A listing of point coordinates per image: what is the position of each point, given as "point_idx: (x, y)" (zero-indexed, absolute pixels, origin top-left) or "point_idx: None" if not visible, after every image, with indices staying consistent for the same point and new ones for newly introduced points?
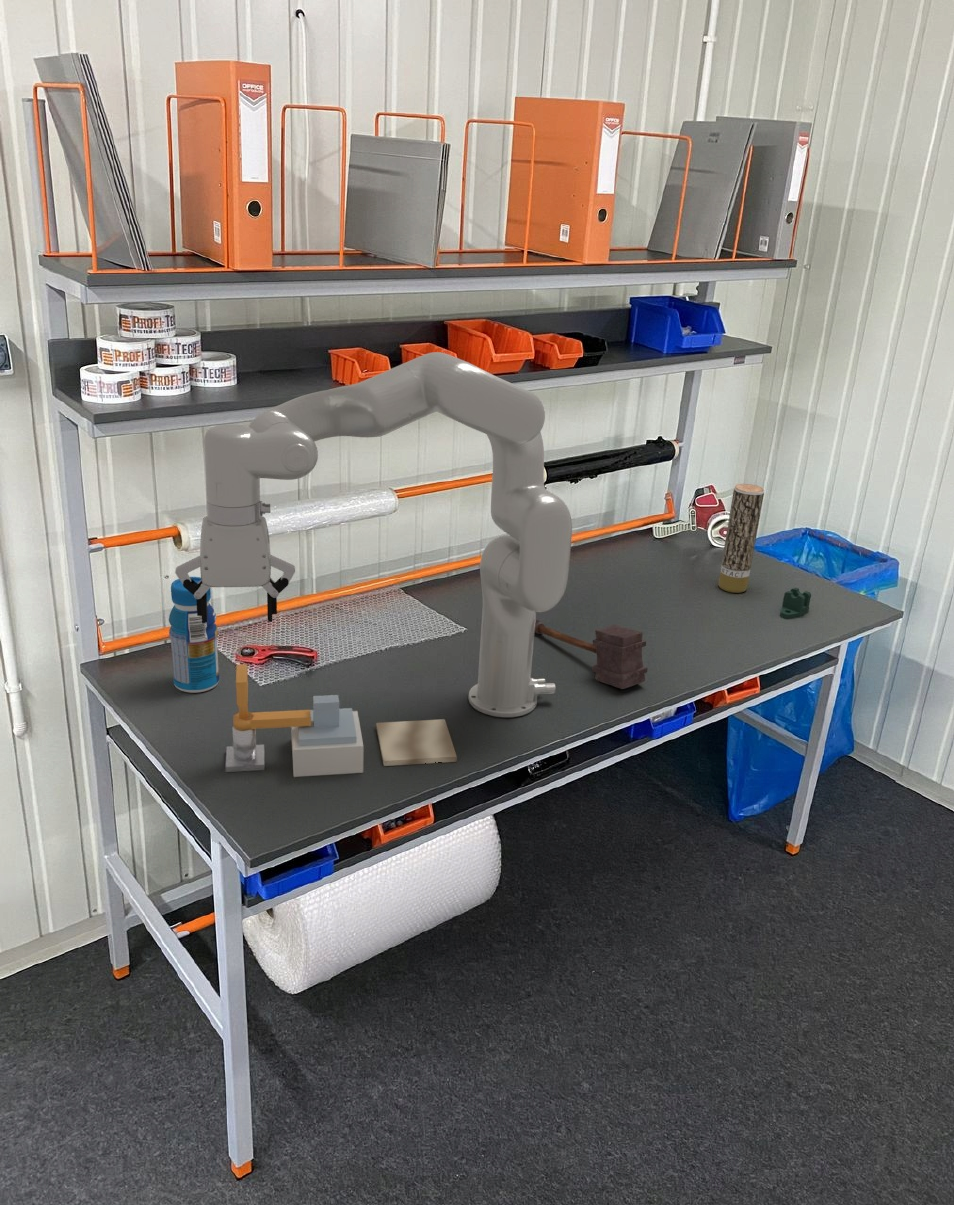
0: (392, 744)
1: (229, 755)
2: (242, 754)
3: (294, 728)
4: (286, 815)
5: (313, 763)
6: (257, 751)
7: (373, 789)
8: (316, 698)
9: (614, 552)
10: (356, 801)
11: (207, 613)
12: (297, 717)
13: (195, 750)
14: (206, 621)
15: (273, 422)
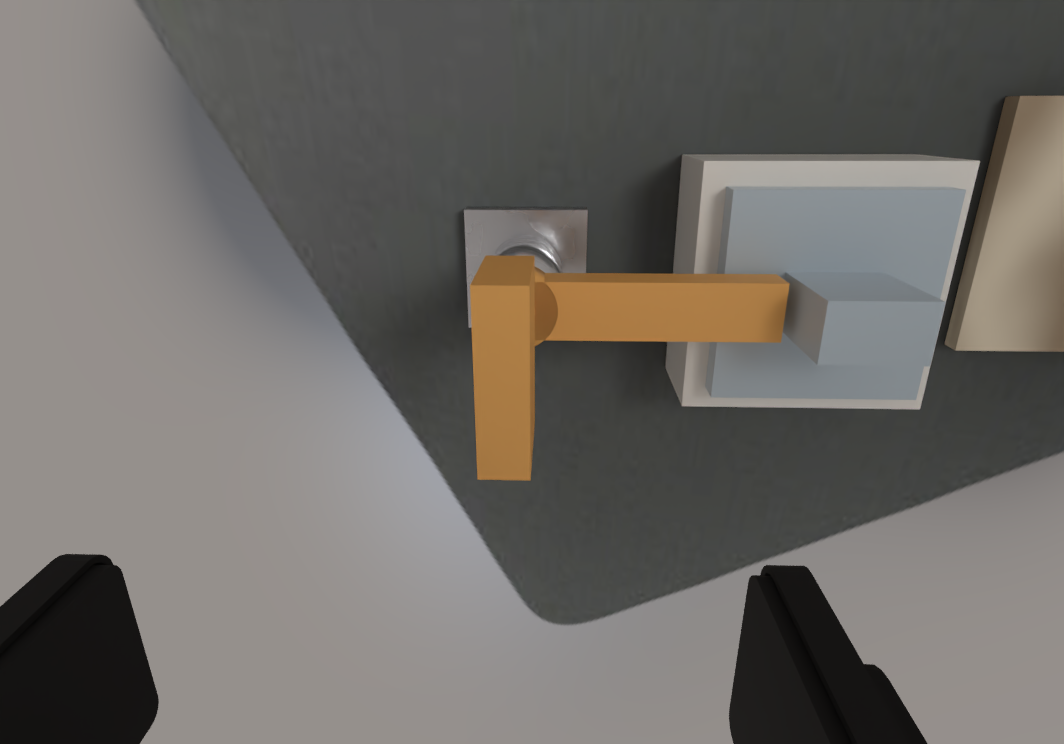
0: (1020, 258)
1: (476, 266)
2: None
3: (704, 272)
4: (630, 522)
5: None
6: (564, 252)
7: (875, 449)
8: (838, 325)
9: None
10: (815, 492)
11: (105, 617)
12: (728, 338)
13: (365, 186)
14: (149, 725)
15: None
